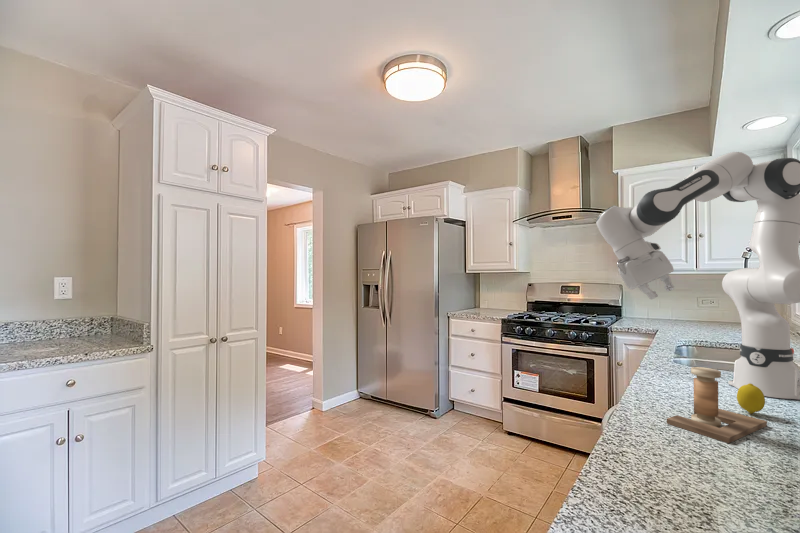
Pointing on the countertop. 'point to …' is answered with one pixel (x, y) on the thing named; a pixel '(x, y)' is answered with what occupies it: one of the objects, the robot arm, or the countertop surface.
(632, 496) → the countertop surface
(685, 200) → the robot arm
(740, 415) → the notched board
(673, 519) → the countertop surface
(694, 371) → the bobbin
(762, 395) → the lemon
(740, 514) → the countertop surface
